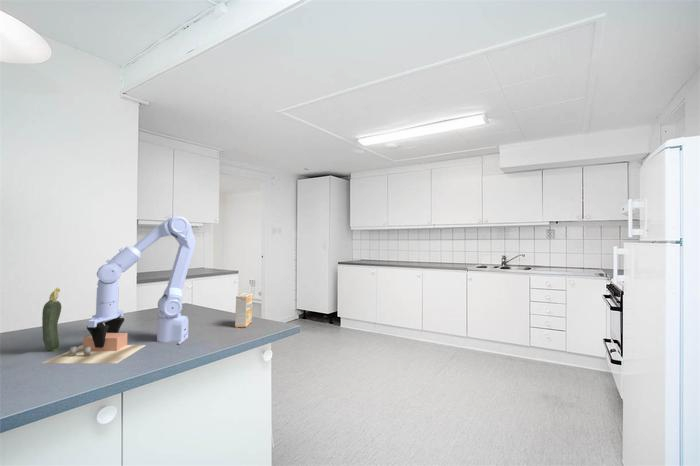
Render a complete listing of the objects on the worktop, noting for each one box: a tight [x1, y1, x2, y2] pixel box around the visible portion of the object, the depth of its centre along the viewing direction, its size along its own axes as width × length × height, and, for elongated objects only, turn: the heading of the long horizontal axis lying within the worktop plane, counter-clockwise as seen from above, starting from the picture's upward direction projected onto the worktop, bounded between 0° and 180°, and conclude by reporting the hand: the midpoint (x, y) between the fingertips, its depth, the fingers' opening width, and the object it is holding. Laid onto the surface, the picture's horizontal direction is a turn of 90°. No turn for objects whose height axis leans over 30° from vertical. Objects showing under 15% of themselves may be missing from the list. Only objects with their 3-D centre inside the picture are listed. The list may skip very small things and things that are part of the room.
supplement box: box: [234, 292, 254, 328], centre depth 142 cm, size 8×5×13 cm, turn 179°
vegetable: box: [41, 287, 62, 352], centre depth 104 cm, size 4×4×20 cm
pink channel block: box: [82, 332, 128, 351], centre depth 107 cm, size 10×6×4 cm, turn 95°
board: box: [42, 344, 147, 364], centre depth 102 cm, size 20×16×3 cm
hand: (105, 344), depth 107 cm, fingers closed on pink channel block, 6 cm apart
